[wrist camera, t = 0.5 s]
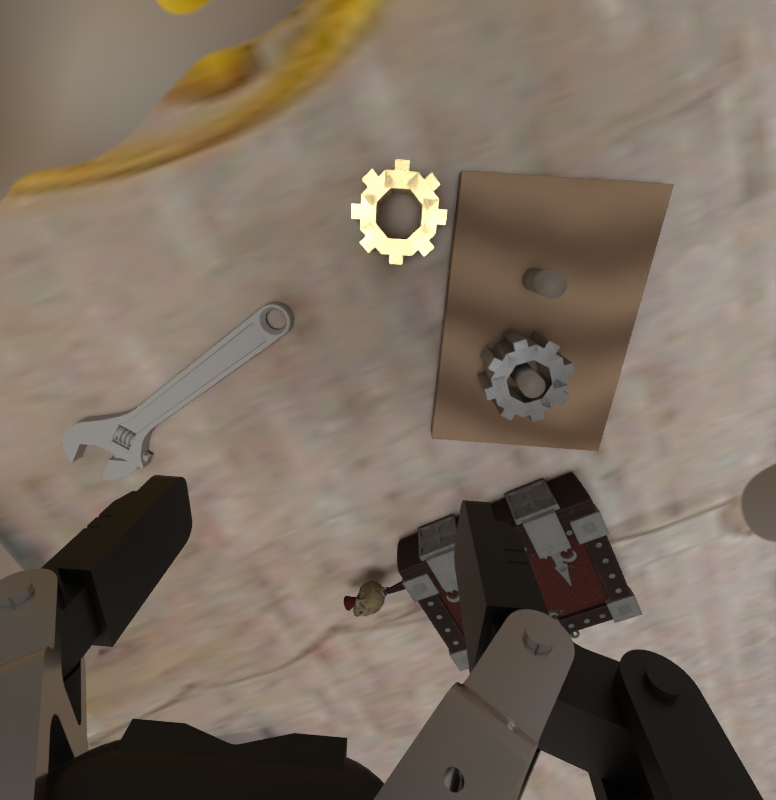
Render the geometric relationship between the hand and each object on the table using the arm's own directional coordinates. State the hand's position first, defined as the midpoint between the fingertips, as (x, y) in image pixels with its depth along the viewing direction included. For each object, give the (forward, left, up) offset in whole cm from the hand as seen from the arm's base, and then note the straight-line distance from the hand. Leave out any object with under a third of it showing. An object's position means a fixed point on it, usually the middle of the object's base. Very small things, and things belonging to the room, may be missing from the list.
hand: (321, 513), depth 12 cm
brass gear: (-9, +1, -23) cm, 25 cm away
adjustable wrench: (+7, -17, -24) cm, 30 cm away
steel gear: (+1, +11, -21) cm, 24 cm away
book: (+23, +11, -24) cm, 35 cm away
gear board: (-2, +12, -23) cm, 26 cm away
